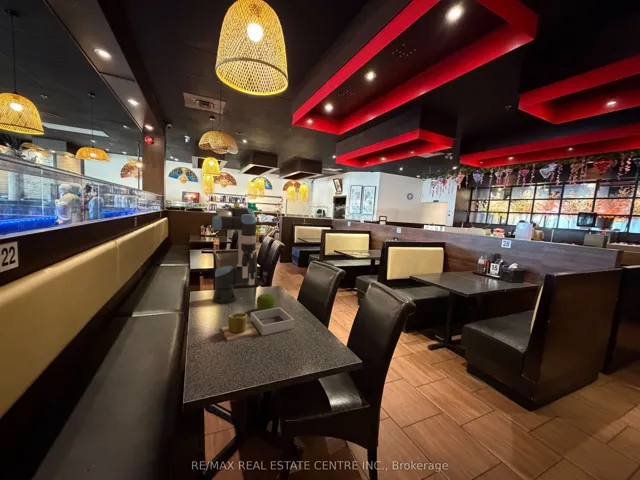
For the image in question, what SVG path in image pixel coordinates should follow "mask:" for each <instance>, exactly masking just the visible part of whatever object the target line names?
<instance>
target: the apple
mask: <svg viewBox="0 0 640 480" xmlns="http://www.w3.org/2000/svg"><path fill="white" fill-rule="evenodd" d="M275 300H276V299H275V295H273V294H272V293H262V294H260V295H258V297H257V298H256V306H257V307H256V308H257V311H262V310H267V309H273V308H275Z"/></svg>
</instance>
